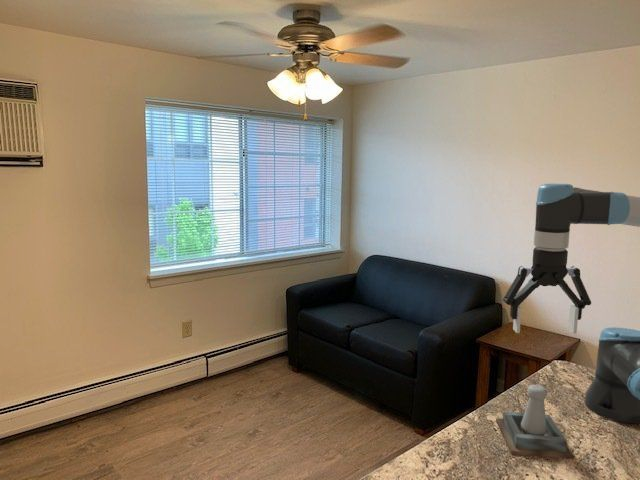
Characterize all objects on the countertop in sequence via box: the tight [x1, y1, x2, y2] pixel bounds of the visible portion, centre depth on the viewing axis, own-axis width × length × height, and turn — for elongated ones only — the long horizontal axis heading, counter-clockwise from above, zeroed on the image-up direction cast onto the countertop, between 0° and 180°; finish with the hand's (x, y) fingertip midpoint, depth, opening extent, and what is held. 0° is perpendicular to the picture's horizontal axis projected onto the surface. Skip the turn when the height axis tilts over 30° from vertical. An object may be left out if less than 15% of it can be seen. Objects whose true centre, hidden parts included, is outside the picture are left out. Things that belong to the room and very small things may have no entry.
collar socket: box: [495, 411, 575, 460], centre depth 116 cm, size 14×14×4 cm
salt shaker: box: [521, 384, 548, 436], centre depth 115 cm, size 6×6×13 cm
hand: (544, 331), depth 116 cm, fingers open, 13 cm apart
